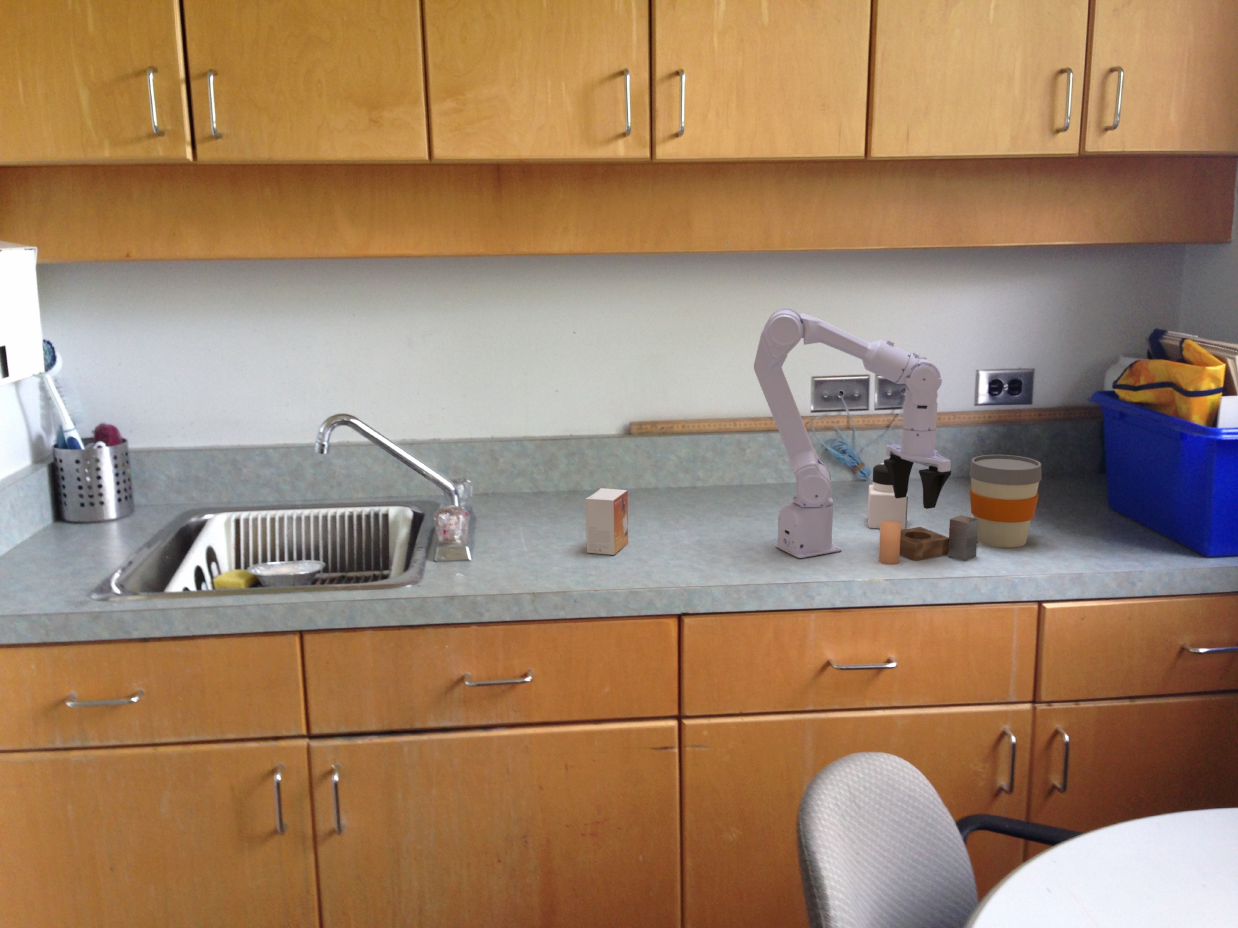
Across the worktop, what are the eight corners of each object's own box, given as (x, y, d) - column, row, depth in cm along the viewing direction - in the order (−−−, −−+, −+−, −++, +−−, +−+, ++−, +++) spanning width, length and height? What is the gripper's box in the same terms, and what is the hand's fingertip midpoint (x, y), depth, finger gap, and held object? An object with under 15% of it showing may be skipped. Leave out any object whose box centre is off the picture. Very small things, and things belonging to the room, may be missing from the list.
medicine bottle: (906, 530, 200) (909, 470, 198) (868, 528, 202) (870, 469, 199) (903, 519, 207) (906, 461, 204) (867, 518, 209) (869, 460, 206)
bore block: (914, 560, 183) (915, 544, 182) (885, 548, 190) (885, 532, 189) (949, 554, 186) (950, 538, 185) (919, 541, 193) (920, 526, 192)
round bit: (887, 565, 181) (889, 527, 179) (874, 559, 184) (876, 522, 182) (903, 562, 182) (905, 524, 180) (890, 556, 185) (892, 519, 184)
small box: (614, 556, 188) (613, 500, 186) (586, 553, 190) (584, 498, 188) (629, 543, 196) (628, 489, 193) (601, 540, 197) (600, 487, 195)
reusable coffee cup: (996, 554, 186) (1002, 473, 182) (950, 535, 197) (955, 458, 193) (1051, 545, 190) (1058, 465, 186) (1003, 526, 201) (1008, 451, 198)
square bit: (965, 561, 182) (967, 523, 181) (947, 556, 185) (949, 518, 183) (976, 556, 184) (978, 519, 183) (958, 552, 187) (961, 515, 185)
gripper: (966, 433, 177) (961, 509, 180) (909, 418, 190) (905, 490, 193) (934, 437, 174) (929, 514, 177) (878, 422, 187) (874, 495, 190)
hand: (914, 502), depth 185 cm, fingers open, 7 cm apart
